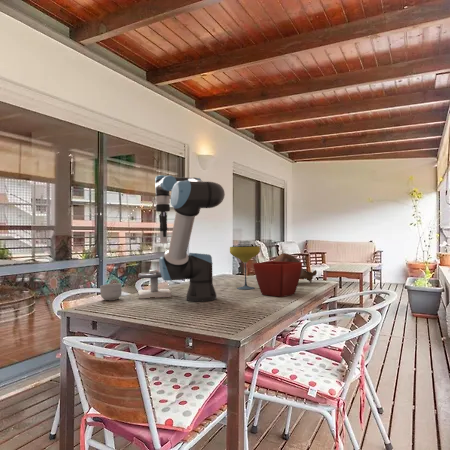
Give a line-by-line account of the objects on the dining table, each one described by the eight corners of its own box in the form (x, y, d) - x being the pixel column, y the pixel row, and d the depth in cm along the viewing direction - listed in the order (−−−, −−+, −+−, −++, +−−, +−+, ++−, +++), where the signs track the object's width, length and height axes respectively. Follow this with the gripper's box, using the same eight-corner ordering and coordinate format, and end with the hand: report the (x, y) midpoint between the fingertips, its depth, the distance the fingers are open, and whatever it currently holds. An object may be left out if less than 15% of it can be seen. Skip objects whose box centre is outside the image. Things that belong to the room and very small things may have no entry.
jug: (267, 285, 237) (316, 293, 237) (273, 255, 234) (321, 262, 233) (266, 275, 257) (310, 282, 257) (270, 247, 254) (315, 254, 253)
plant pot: (304, 293, 201) (303, 261, 202) (283, 298, 187) (282, 264, 188) (274, 291, 214) (273, 261, 215) (253, 295, 200) (252, 263, 201)
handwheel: (138, 278, 200) (138, 264, 201) (138, 275, 217) (137, 262, 217) (171, 277, 204) (170, 263, 205) (168, 274, 221) (167, 261, 221)
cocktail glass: (262, 290, 219) (260, 246, 220) (230, 290, 219) (229, 247, 220) (259, 286, 237) (258, 245, 238) (230, 286, 237) (229, 246, 238)
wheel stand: (171, 296, 204) (171, 277, 204) (138, 298, 200) (138, 279, 200) (168, 292, 221) (168, 274, 221) (138, 293, 217) (138, 276, 217)
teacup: (115, 301, 192) (115, 285, 193) (95, 301, 195) (95, 285, 195) (128, 297, 206) (127, 282, 206) (109, 297, 208) (109, 282, 208)
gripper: (154, 206, 219) (155, 243, 219) (157, 202, 195) (158, 243, 194) (167, 206, 221) (168, 242, 220) (171, 201, 197) (172, 243, 196)
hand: (163, 243), depth 207 cm, fingers open, 13 cm apart
